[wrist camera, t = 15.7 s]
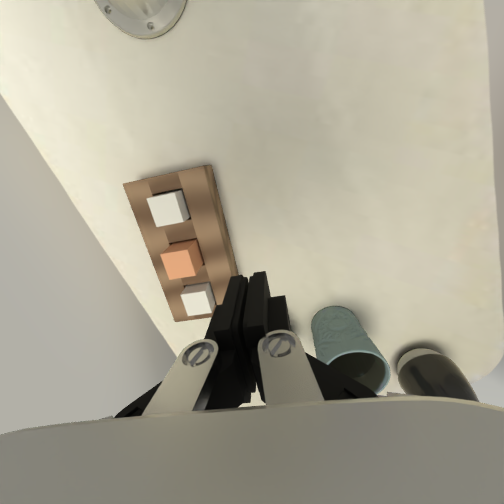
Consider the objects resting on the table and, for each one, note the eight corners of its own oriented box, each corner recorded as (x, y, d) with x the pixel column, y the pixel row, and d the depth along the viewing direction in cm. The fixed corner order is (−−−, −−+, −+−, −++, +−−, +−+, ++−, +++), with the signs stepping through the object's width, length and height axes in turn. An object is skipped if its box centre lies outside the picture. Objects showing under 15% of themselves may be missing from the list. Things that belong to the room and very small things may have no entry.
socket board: (139, 180, 39) (122, 183, 34) (211, 164, 37) (203, 165, 32) (184, 305, 47) (175, 322, 42) (244, 297, 45) (241, 313, 41)
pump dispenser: (378, 358, 49) (423, 440, 34) (425, 330, 46) (496, 408, 31) (406, 386, 51) (459, 474, 37) (453, 362, 48) (530, 447, 34)
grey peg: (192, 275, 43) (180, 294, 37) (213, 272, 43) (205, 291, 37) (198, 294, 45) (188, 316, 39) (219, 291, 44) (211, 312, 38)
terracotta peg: (176, 239, 39) (160, 254, 33) (200, 235, 39) (187, 249, 33) (184, 261, 40) (169, 279, 34) (206, 257, 40) (195, 275, 34)
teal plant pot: (327, 294, 44) (347, 340, 33) (372, 317, 45) (407, 369, 34) (298, 332, 48) (307, 385, 36) (340, 353, 49) (362, 410, 38)
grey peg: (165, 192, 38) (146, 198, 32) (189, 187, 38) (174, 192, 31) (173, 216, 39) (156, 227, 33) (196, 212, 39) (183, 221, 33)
